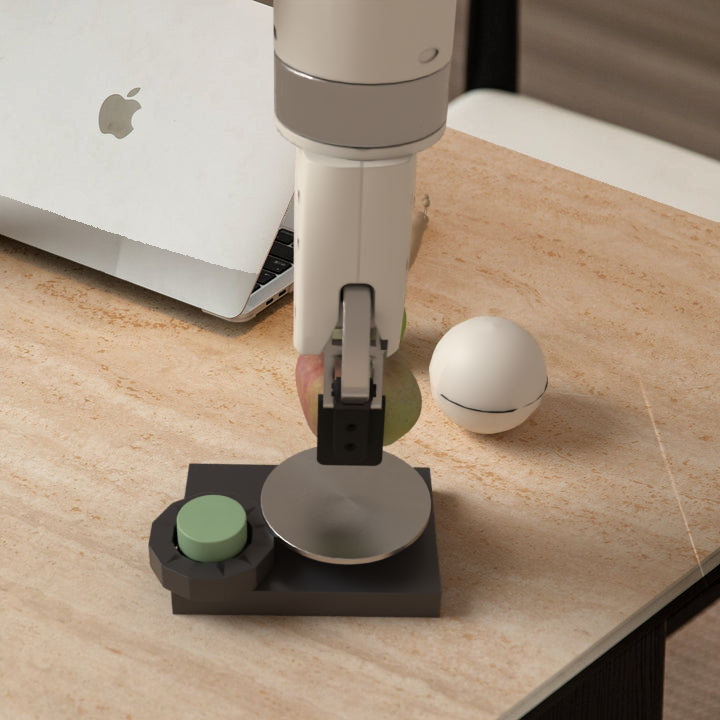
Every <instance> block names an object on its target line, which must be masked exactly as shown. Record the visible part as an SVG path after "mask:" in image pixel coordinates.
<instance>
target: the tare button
mask: <svg viewBox="0 0 720 720" xmlns="http://www.w3.org/2000/svg"><path fill="white" fill-rule="evenodd" d="M177 533H178V544H179V547H180V549H181V550H182V552H183V553H184V554H185V555H186V556H188V557H189V558H191V559H193V560H195V561H198V562H202V563H219V562H224V561H226V560H229V559H231V558H233V557H235V556H236V555H238V554H239V553H240V552H241V551H242V549H243V548H244V546H245V544H246V541H247V517H246V512H245V510H244V509H243V507H242V506H241V505H240V504H239V503H238V502H237V501H235V500H233V499H231V498H229V497H226V496H221V495H206V496H201V497H198V498H195V499H193V500H191V501H189V502H188V503H186V504H185V505H184V506H183V507H182V508H181V510H180V511H179V513H178V516H177Z"/></svg>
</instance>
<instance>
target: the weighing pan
mask: <svg viewBox="0 0 720 720" xmlns="http://www.w3.org/2000/svg"><path fill="white" fill-rule="evenodd" d="M277 465H278V466H277V467H276V468H275V469H274V470H273V471H272V472H271V473H270V475H269V476H268V478H267V479H266V481H265V483H264V486H263V488H262V492H261V512H262V517H263V519H264V522H265V524H266V526H267V527H268V529H269V530H270V532H271V533H272V534H273V535H274V536H275V538H276V539H277V540H279V541H280V542H281V543H282V544H283V545H285V546H286V547H288V548H289V549H291V550H292V551H294V552H296V553H298V554H300V555H302V556H305V557H308V558H310V559H314V560H317V561H321V562H326V563H333V564H346V565H347V564H363V563H370V562H374V561H379V560H382V559H385V558H388V557H391V556H393V555H395V554H397V553H399V552H401V551H403V550H404V549H406V548H407V547H409V546H410V545H411V544H412V543H413V542H415V541H416V540H417V538H418V537H419V536H420V535H421V534H422V532H423V531H424V529H425V528H426V525H427V523H428V521H429V517H430V511H431V498H430V493H429V490H428V488H427V485H426V483H425V482H424V480H423V478H422V477H421V476H420V475H419V473H418V472H417V471H416V470H415V469H414V468H413V467H414V466H412V465H411V464H409V463H408V462H406V461H405V460H404V459H402V458H400V457H399V456H397V455H395V454H393V453H390V452H389V451H386V450H383V455H382V462H381V463H380V464H379V465H377V466H341V465H321V464H319V463H318V461H317V446H314V447H311V448H307V449H304V450H301V451H299V452H297V453H295V454H293V455H290V456H288V457H287V458H286V459H285V460H283V461H282V462H280V463H279V464H277Z"/></svg>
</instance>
